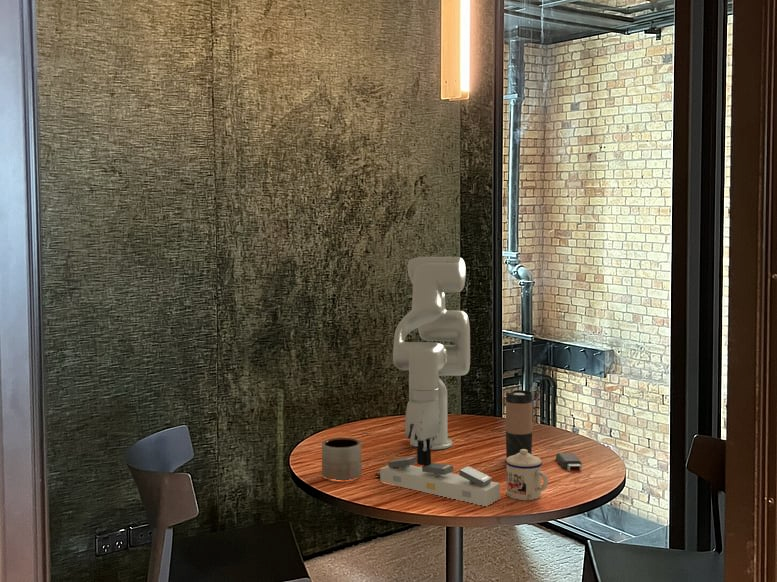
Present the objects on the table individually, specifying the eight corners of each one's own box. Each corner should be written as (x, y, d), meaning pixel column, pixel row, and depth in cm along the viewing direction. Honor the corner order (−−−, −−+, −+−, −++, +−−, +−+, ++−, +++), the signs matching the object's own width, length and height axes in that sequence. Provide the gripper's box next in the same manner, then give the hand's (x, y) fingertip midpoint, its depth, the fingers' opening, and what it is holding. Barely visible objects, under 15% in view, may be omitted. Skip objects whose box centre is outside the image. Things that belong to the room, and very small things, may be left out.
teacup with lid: (498, 494, 195) (498, 449, 194) (522, 486, 200) (522, 443, 200) (534, 507, 185) (534, 459, 185) (558, 498, 191) (559, 452, 190)
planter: (331, 485, 203) (331, 450, 203) (316, 474, 213) (315, 440, 212) (368, 479, 208) (368, 444, 208) (351, 468, 218) (351, 435, 217)
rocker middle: (422, 471, 198) (421, 466, 198) (430, 467, 201) (430, 462, 201) (445, 474, 194) (445, 469, 194) (453, 470, 197) (453, 465, 197)
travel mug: (532, 464, 220) (532, 395, 218) (505, 463, 221) (505, 394, 220) (532, 457, 227) (532, 390, 226) (506, 456, 229) (506, 389, 227)
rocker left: (389, 467, 204) (387, 462, 205) (397, 463, 208) (396, 458, 208) (409, 465, 200) (408, 459, 201) (418, 461, 204) (417, 455, 204)
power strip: (368, 480, 207) (367, 462, 207) (383, 473, 213) (383, 456, 212) (486, 507, 186) (486, 487, 185) (500, 498, 191) (500, 479, 191)
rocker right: (458, 475, 192) (460, 469, 191) (466, 471, 195) (468, 465, 195) (482, 487, 188) (484, 481, 188) (490, 482, 191) (491, 477, 191)
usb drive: (573, 460, 225) (573, 451, 225) (584, 472, 213) (584, 463, 213) (555, 460, 225) (555, 451, 225) (565, 472, 213) (565, 463, 213)
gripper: (428, 388, 207) (428, 455, 208) (394, 398, 195) (395, 468, 196) (451, 391, 202) (451, 460, 203) (418, 401, 190) (419, 474, 192)
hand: (424, 464), depth 200 cm, fingers closed
